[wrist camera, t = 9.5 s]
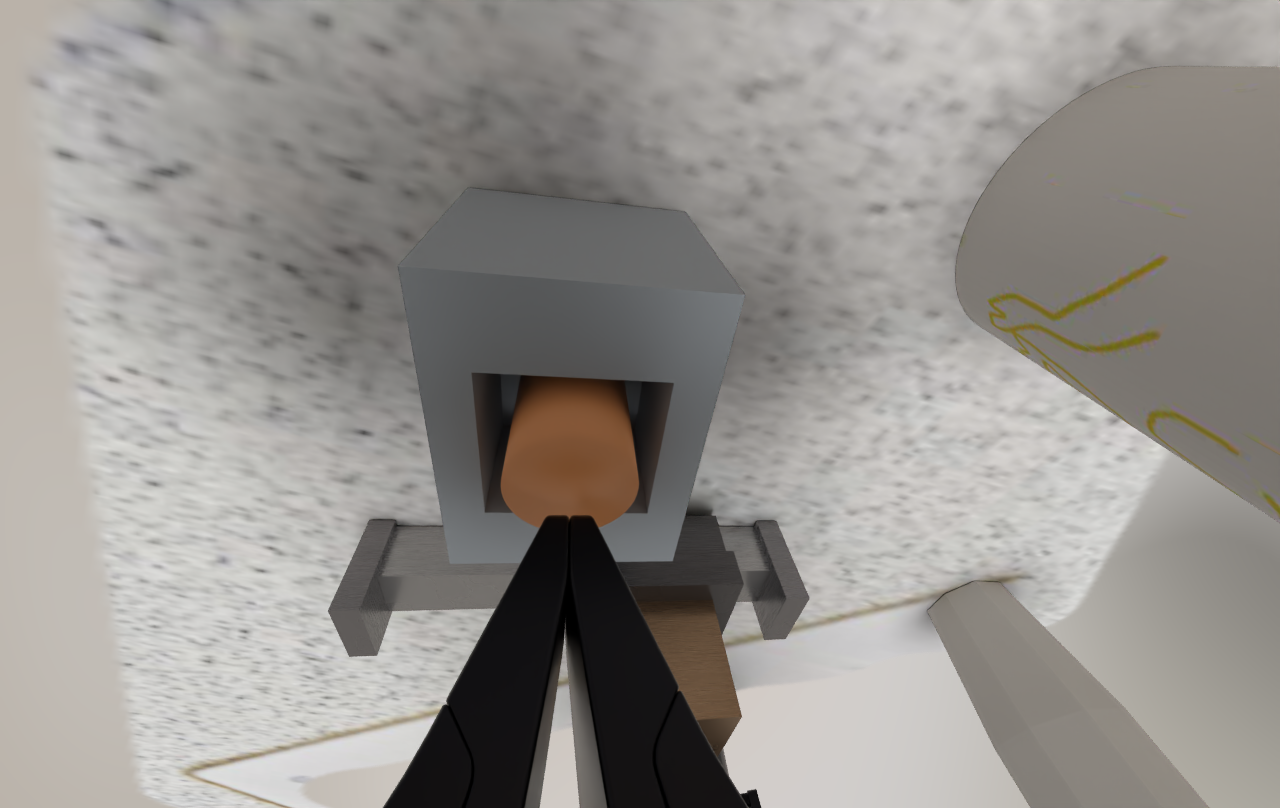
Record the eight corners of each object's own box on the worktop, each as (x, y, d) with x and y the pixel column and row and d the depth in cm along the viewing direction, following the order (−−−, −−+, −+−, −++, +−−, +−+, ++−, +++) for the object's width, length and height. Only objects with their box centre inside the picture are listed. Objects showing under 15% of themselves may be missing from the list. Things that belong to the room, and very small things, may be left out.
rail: (757, 562, 24) (785, 638, 21) (384, 566, 21) (349, 656, 18) (776, 521, 22) (809, 598, 19) (369, 519, 19) (327, 610, 16)
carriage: (693, 584, 24) (733, 770, 18) (576, 586, 23) (575, 783, 17) (719, 505, 21) (780, 700, 14) (583, 504, 20) (584, 713, 13)
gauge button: (619, 431, 13) (630, 532, 11) (520, 428, 13) (503, 532, 10) (630, 346, 12) (647, 438, 9) (518, 339, 11) (497, 433, 9)
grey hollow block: (647, 427, 18) (672, 561, 13) (486, 422, 17) (449, 564, 12) (685, 211, 13) (745, 295, 9) (468, 187, 12) (398, 265, 8)
